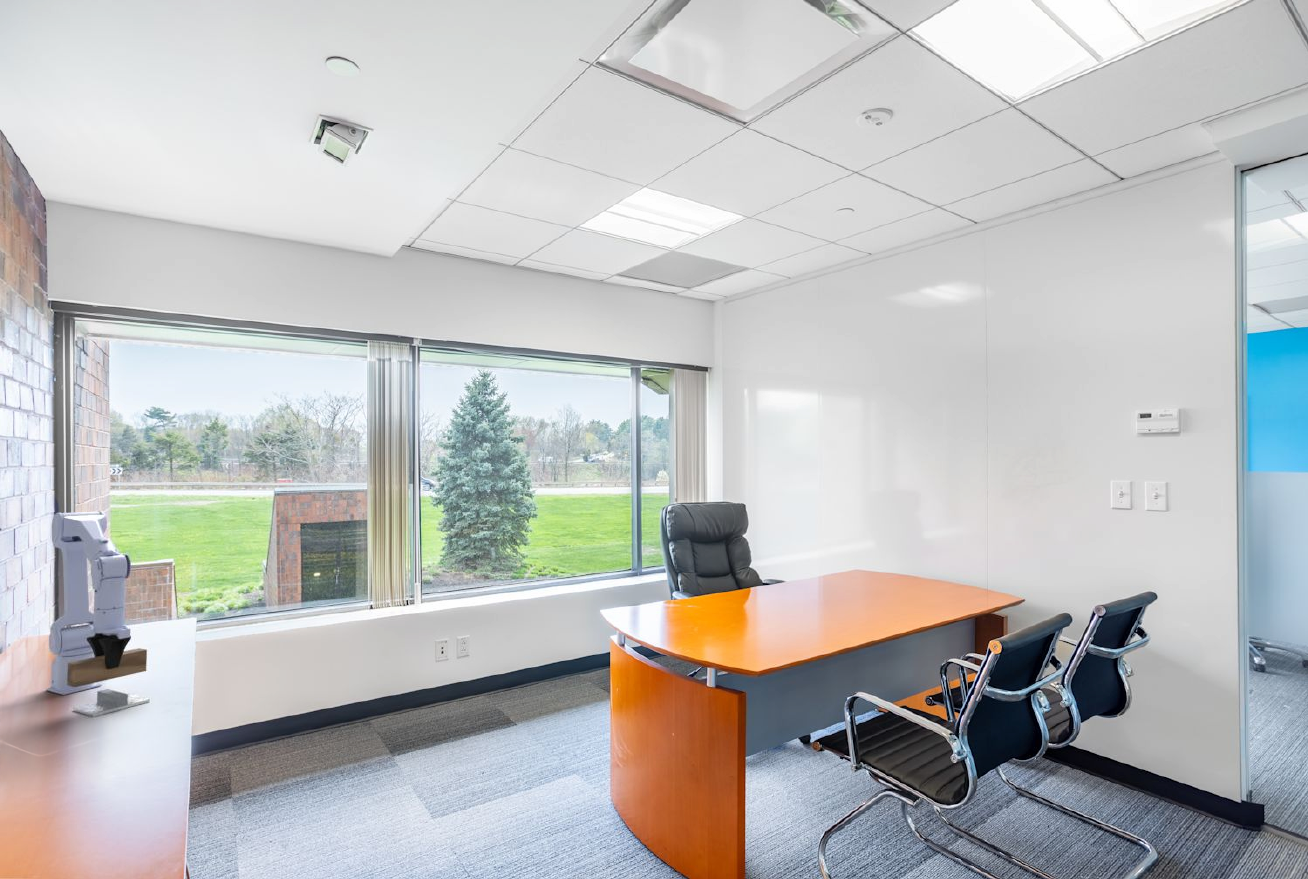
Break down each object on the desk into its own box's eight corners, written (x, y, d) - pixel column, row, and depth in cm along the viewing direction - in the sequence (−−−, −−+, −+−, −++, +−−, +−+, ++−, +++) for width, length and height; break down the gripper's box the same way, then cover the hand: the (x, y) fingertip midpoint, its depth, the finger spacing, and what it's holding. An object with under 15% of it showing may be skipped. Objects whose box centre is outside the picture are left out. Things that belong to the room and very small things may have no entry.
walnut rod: (67, 685, 151) (67, 662, 151) (138, 669, 163) (139, 648, 163) (74, 687, 149) (75, 664, 149) (146, 670, 161) (146, 649, 162)
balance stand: (73, 710, 152) (73, 697, 152) (129, 696, 161) (129, 683, 162) (93, 716, 148) (93, 702, 148) (149, 701, 157) (150, 688, 158)
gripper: (73, 608, 157) (71, 667, 156) (105, 613, 150) (103, 675, 149) (109, 603, 163) (107, 660, 162) (141, 607, 156) (139, 667, 155)
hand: (108, 667), depth 156 cm, fingers closed on walnut rod, 3 cm apart
